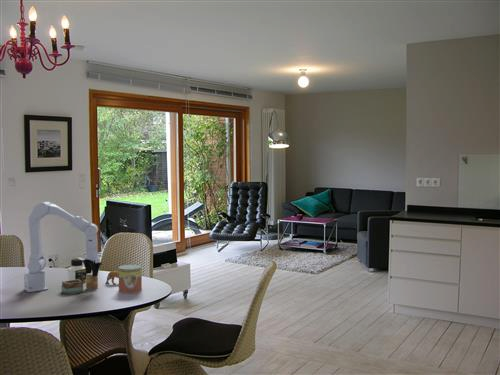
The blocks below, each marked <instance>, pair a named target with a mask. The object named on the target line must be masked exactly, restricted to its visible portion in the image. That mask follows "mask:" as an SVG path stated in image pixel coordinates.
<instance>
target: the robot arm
mask: <svg viewBox="0 0 500 375" xmlns="http://www.w3.org/2000/svg"><path fill="white" fill-rule="evenodd" d="M47 215H50V216H51V215H52V216H55V215H56V216H58V217H60V218H61V219H64V220H66V221H68V222H70V224H71V227H73V228H75V229H77V230H79V231H80V232H82V233H84V235H85V254H84V255H83V260H82V262H83V266H84V267H85V269H86V273H87V275H89V274H92V275H93V276H97V275H98V276H99V271H100V268H101V266H102V264H103V262H102V261H100V260H101V259H100V258H101V256H100V255H98V254H99V253H98V252H99V251H98V248H99V247H98V246H99V244H98V234H97V233H98V232H99V227H98V226H97V224H96V223H93V222H91V221H87V219H85V218H84V217H83V216H82V215H80V216H79V215H77V216H75V215H72V214H71V213H70V212H67V211H66V210H65V209H63V208H61V207H60V206H58V205H57V204H55V203H52V202H51V201H48V200H47V201H46V200H45V201H43V202H39V203H37V204H36V205H35V206H33V209H32V211H31V213H30V215H29V216H28V228H29V243H30V244H29V247H30V255H29V259H28V260H29V261H28V264H27V269H28V271H29V272H26V273H24V275H23V290H24V291H26V292H28V293H33V292H38V291H44V290H45V291H46V290H49V287H46V269H45V267H46V265H47V261H46V259H45V256H44V253H43V249H42V246H43V245H42V234H41V233H42V230H41V220H42V219H44V218H45V216H47Z"/></svg>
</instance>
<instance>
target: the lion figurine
mask: <svg viewBox="0 0 500 375" xmlns="http://www.w3.org/2000/svg"><path fill="white" fill-rule="evenodd" d="M115 278H116V279H119V270H118V271H117V270H111V271H110V272H109V273H107V277H106V282H105V283H104V284H105V285H107V284H110V282H109V281H110V280H111V283H112V284H113V285H117V284H116V282H115Z"/></svg>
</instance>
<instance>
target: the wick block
mask: <svg viewBox="0 0 500 375" xmlns="http://www.w3.org/2000/svg"><path fill="white" fill-rule="evenodd" d="M98 276H99V274H98V275H97V276H93V275H92V273H89V274H87V275H86V281H85V288H86V290H87V291H89V290H94V289H98V287H99V279H98V278H99V277H98Z"/></svg>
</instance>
